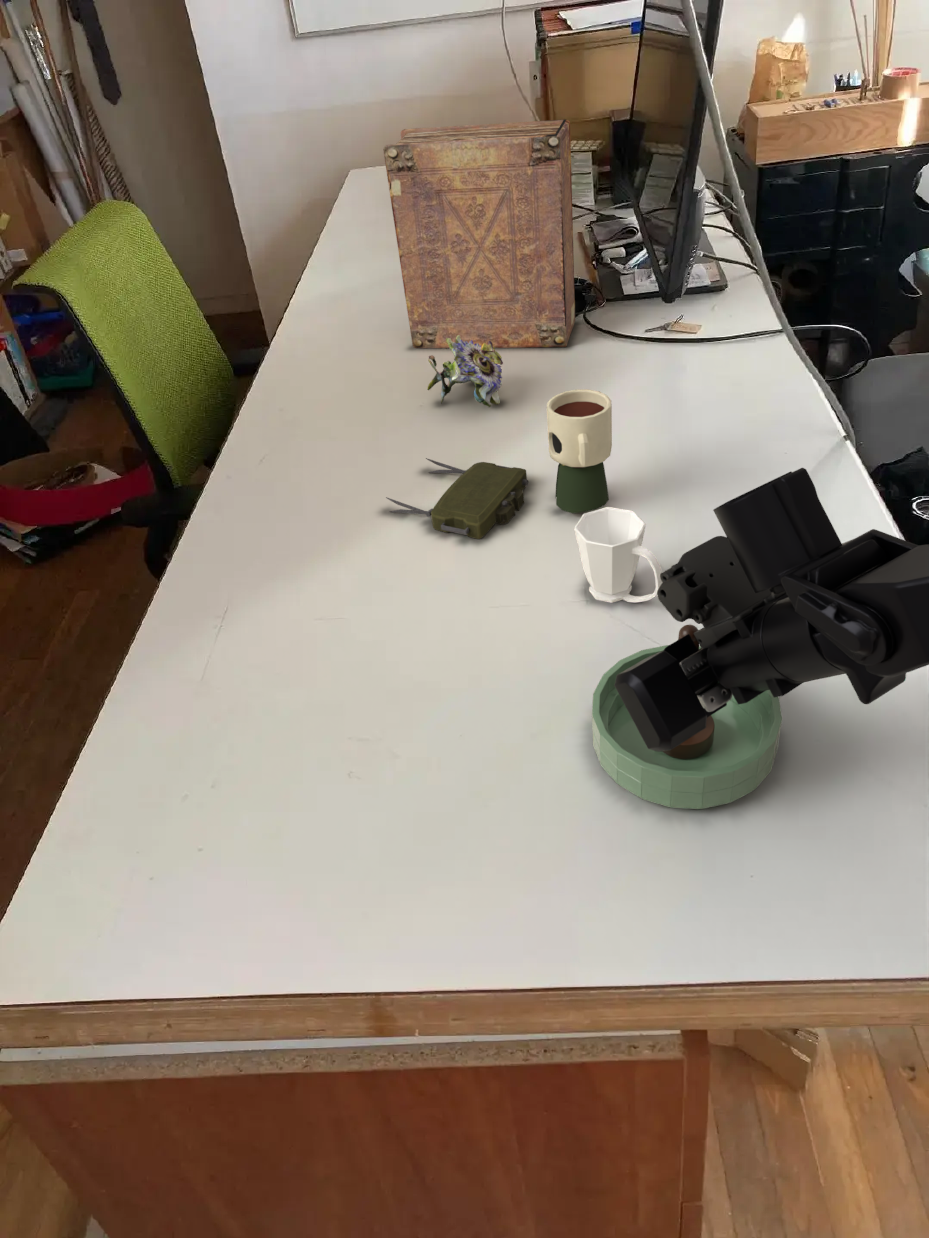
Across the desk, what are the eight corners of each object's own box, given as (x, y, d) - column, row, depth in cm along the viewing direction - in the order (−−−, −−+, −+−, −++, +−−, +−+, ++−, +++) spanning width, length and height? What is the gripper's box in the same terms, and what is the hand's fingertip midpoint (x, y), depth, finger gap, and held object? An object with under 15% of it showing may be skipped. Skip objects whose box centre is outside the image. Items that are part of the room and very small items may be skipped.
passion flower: (496, 437, 135) (503, 397, 124) (422, 429, 135) (421, 389, 124) (502, 368, 138) (509, 322, 127) (429, 360, 138) (430, 314, 127)
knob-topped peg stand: (720, 724, 80) (730, 613, 72) (704, 766, 77) (713, 654, 69) (663, 710, 82) (667, 601, 74) (645, 750, 79) (648, 640, 71)
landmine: (488, 527, 103) (375, 503, 110) (490, 546, 105) (379, 521, 112) (540, 464, 113) (434, 445, 119) (542, 483, 114) (437, 464, 121)
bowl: (792, 705, 82) (798, 667, 79) (751, 836, 72) (756, 799, 69) (626, 665, 88) (626, 629, 85) (567, 781, 78) (565, 745, 75)
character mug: (548, 482, 114) (543, 384, 106) (606, 476, 114) (605, 378, 106) (555, 532, 106) (549, 430, 98) (618, 526, 105) (617, 424, 97)
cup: (607, 561, 101) (606, 498, 96) (681, 599, 95) (685, 533, 89) (562, 591, 97) (559, 528, 92) (636, 633, 91) (637, 567, 86)
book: (411, 348, 150) (381, 146, 131) (426, 325, 157) (399, 129, 137) (567, 347, 144) (559, 135, 125) (576, 323, 150) (569, 118, 131)
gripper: (834, 481, 65) (710, 542, 80) (633, 590, 58) (537, 635, 73) (911, 621, 65) (772, 657, 80) (717, 747, 58) (604, 761, 73)
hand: (674, 673), depth 76 cm, fingers closed on knob-topped peg stand, 2 cm apart
